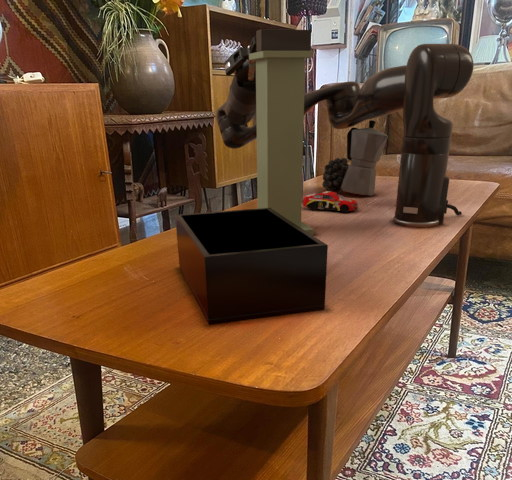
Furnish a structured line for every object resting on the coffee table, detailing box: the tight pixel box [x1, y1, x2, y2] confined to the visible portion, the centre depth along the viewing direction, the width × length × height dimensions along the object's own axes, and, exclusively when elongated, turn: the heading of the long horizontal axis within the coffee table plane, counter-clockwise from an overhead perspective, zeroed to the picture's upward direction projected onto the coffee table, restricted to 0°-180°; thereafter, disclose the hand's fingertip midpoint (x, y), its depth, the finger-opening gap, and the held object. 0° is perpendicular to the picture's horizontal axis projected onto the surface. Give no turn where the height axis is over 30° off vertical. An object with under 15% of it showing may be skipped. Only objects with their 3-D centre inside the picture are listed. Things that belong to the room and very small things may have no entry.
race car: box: [302, 190, 359, 214], centre depth 123 cm, size 13×5×4 cm, turn 63°
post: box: [249, 50, 315, 236], centre depth 99 cm, size 11×11×32 cm
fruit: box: [321, 157, 350, 192], centre depth 144 cm, size 9×8×15 cm
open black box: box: [174, 208, 329, 326], centre depth 74 cm, size 24×16×9 cm, turn 16°
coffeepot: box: [340, 119, 389, 196], centre depth 137 cm, size 15×9×18 cm, turn 27°
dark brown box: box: [255, 28, 312, 52], centre depth 95 cm, size 16×9×3 cm, turn 16°
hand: (268, 38), depth 97 cm, fingers open, 3 cm apart
